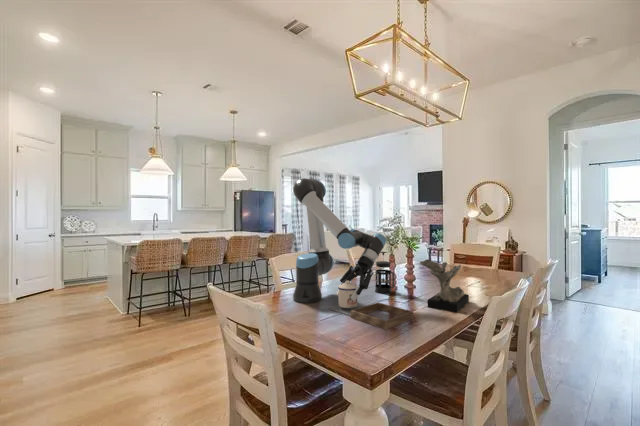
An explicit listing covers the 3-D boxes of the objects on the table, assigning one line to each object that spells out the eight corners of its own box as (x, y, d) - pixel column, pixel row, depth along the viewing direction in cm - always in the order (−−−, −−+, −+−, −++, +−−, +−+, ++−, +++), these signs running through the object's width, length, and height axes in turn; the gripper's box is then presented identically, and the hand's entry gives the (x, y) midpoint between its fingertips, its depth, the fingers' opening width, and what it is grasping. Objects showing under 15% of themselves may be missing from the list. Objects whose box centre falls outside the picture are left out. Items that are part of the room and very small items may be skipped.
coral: (454, 314, 145) (454, 266, 145) (411, 306, 158) (411, 262, 158) (470, 302, 164) (470, 260, 164) (430, 295, 177) (430, 256, 177)
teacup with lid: (349, 309, 146) (349, 284, 146) (334, 305, 153) (334, 280, 152) (365, 304, 155) (365, 279, 154) (350, 300, 161) (350, 277, 161)
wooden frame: (350, 317, 141) (350, 310, 141) (378, 308, 154) (378, 302, 154) (386, 329, 127) (386, 321, 127) (413, 318, 140) (413, 311, 140)
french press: (371, 291, 185) (370, 251, 185) (378, 288, 193) (378, 250, 192) (389, 295, 178) (389, 253, 178) (397, 291, 185) (397, 251, 185)
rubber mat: (327, 308, 154) (327, 307, 154) (349, 302, 164) (349, 301, 164) (350, 316, 143) (350, 315, 143) (372, 309, 153) (372, 308, 153)
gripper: (388, 267, 155) (366, 307, 145) (354, 262, 172) (333, 297, 161) (381, 257, 152) (358, 297, 141) (347, 253, 168) (325, 288, 158)
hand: (345, 297), depth 151 cm, fingers closed on teacup with lid, 9 cm apart
